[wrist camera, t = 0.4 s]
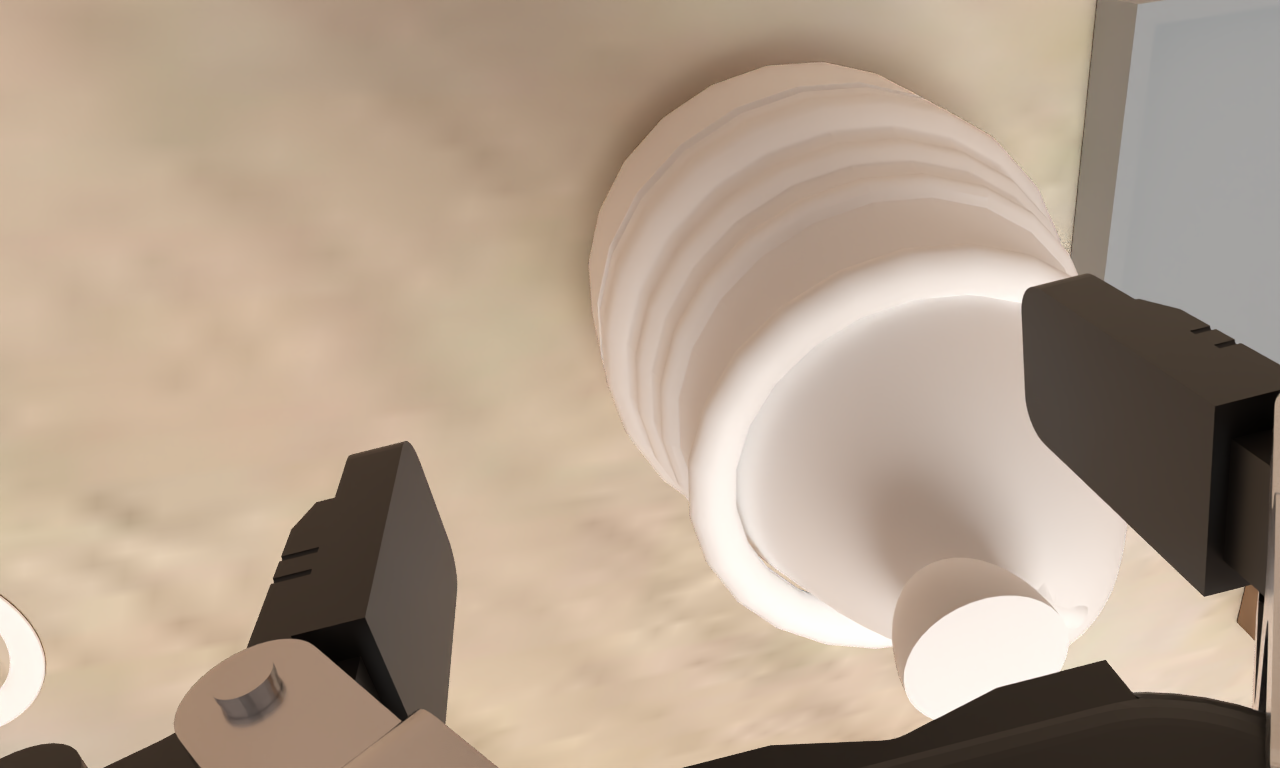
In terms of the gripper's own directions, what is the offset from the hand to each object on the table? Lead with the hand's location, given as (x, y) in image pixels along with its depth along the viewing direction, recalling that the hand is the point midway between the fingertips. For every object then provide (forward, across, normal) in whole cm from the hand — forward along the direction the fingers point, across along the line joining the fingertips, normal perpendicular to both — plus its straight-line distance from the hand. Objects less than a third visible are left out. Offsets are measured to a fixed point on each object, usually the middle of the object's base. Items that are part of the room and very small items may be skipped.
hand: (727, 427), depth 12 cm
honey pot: (+18, -5, +5) cm, 19 cm away
